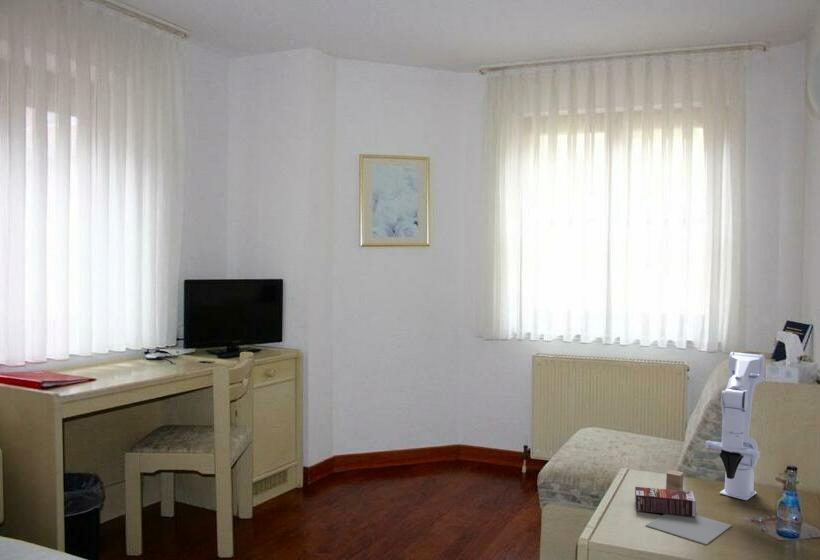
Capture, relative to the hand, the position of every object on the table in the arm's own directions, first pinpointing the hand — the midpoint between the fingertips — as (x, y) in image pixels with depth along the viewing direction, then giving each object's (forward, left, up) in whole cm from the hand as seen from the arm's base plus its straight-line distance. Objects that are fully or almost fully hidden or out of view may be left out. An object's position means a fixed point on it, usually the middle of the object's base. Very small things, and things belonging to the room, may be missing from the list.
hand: (730, 477), depth 196 cm
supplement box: (+10, -6, -7) cm, 14 cm away
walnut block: (0, -16, -10) cm, 19 cm away
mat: (+21, -3, -10) cm, 23 cm away
